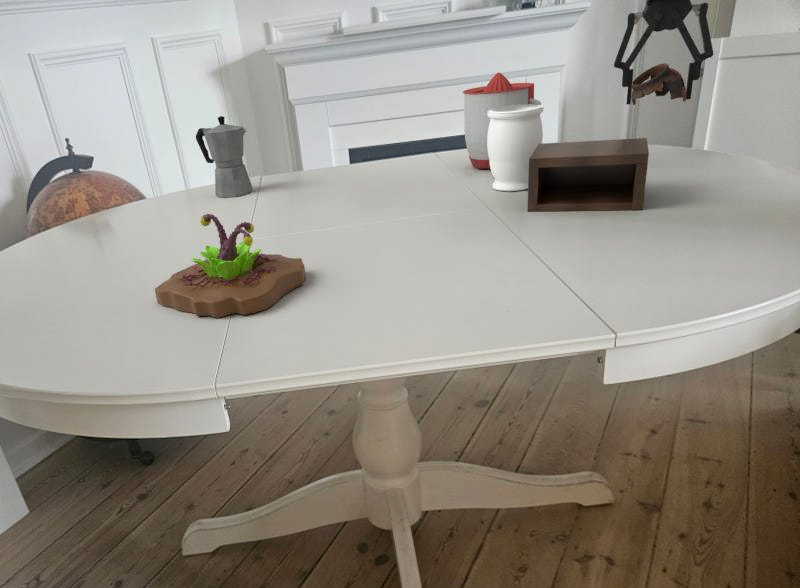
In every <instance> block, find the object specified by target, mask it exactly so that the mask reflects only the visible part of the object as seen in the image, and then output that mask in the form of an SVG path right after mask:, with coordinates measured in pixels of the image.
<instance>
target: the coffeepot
mask: <svg viewBox="0 0 800 588" xmlns="http://www.w3.org/2000/svg"><path fill="white" fill-rule="evenodd" d="M217 121H218V123H219V125H216V126H214V127H206V128H205V127H200V128H198V130H197V132H196V134H195V140H196V142H197V144H198V146H199V149H200V151H201V153H202V155H203V157H204V159H205V162H206V163H207V164H215V169H214V182H215V183H214V184H215V188H214V189H215V197H217V198H223V199H227V198H235V197H241V196H246V195H248V194H250V193H252V191H253V190H254V188H253V185H252V183H251V180H250V176H249V174H248V170H247V167H246V165H245V163H244V161H243V157H244V155H245V154H244V153H245V151H244V135H245V133H247V128H245V127H243V126H241V125H234V124H227V123H225V116H223V115H219V116H218V117H217ZM203 137H204V138H203ZM204 139H205V140H204ZM205 141H206V144H205ZM206 145H207V147H208V149H207V147H206ZM208 150H209V151H208ZM209 153H210V155H209ZM210 156H211V157H210Z"/></svg>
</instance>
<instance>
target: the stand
mask: <svg viewBox="0 0 800 588" xmlns="http://www.w3.org/2000/svg"><path fill="white" fill-rule="evenodd" d="M648 144H649V143H648V138H647V137H641V138H639V137H638V138H637V137H636V138H620V139H619V138H618V139H603V140H601V139H600V140H581V141H565V142H547V143H542V144H538V146H537V147H536V149H535V150H534V152H533V154H532V155H531V157H530V158H529V178H528V189H527V212H528V213H529V212H531V213H532V212H591V211H592V212H597V211H601V212H602V211H604V212H605V211H643V210H644V200H645V190H646V182H647V174H648V164H649V156H650V152H649V145H648Z"/></svg>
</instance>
